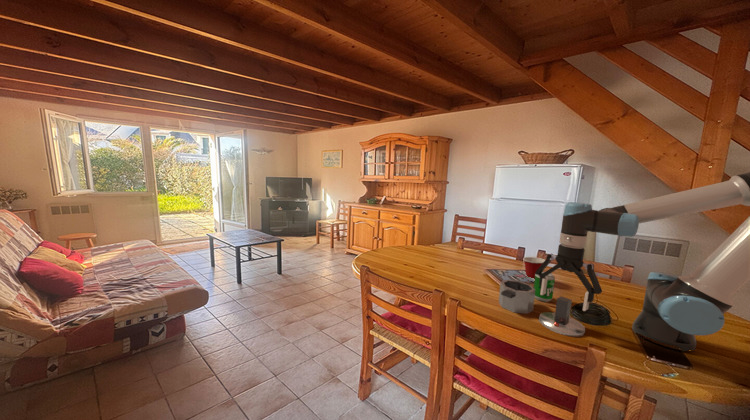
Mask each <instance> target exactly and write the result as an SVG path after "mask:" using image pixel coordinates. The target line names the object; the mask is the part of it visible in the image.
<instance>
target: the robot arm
mask: <svg viewBox="0 0 750 420" xmlns="http://www.w3.org/2000/svg"><path fill="white" fill-rule="evenodd" d="M737 205H742V206H746V207H750V171H749V172H745V173H741V174H736V175H733V176H731V178H730V179H729V180H725V181H722V182H718V183H717V182H716V183H713V184H709V185H704V186H700V187H695V188H691V189H688V190H687V189H686V190H682V191H678V192H675V193H668V194H665V195H661V196H657V197H652V198H648V199H644V200H638V201H635V202H631V203H626V204H623V205H617V206H612V207H605V208H602V209H600V210H597V209H596V210H595V209H593V206H592V204H590V203H585V202H576V201H575V202H570V201H569V202H566V204H565V206H564V211H563V215H562V220H561V221H562V223H561V230H560V235H559V245H558V250H557V255H555V254H554V253H548V254H547V255H546V258H545V261H544V262H543V264H542V265H541V266H540V267H539V268H538V270H537V271H536V272H535V274H536V275H538V276H540V281H539V285H541V293H540V295H544V294H546V287H547V280H548V278H546V276H547V275H549V274H550V273H551V274H553V273H554V272H555V271H557V270H558V269H561V270H562V271H567V272H569V273H574V274H575V275H576V276H577V278H578V279H579V281H580V282H581V283H582V285H583V287H584V288H585V289H586V292H585V293H584V298H583V299H584V300H583V305H582V311H583V312H586V311H588V310H589V306H590V305H589V304H591V303H593V302H594V298H595V295H600V294H601V293H603V290H602V287H601V285H600V282H599V279H598V278H597V275H596V273H595V263H592V262H591V263H586V262H585V263H584V256H585V247H586V244H587V238H588V233H589V232H590V233H599V234H604V235H605V234H607V235H611V236H612V235H614V236H619V237H628V238H629V237H630V238H631V237H634V236H636V234H637V233H638V229H639V226H640V224H644V223H649V222H654V221H659V220H660V221H661V220H664V219H670V218H675V217H680V216H681V217H682V216H685V215H691V214H695V213H701V212H706V211H712V210H716V209H722V208H727V207H728V208H729V207H733V206H737ZM554 260H555V261H556V264H555V265H554V266H552V267H551V268H549V269H547V270H545V269H546V268H547V267H548V265H549V264H551V262H552V261H554ZM583 267H584V269H585V270H586V271H587V276H588V277H589V279H588V278H587V276H586V275H585V273H584V271H583V270H582V268H583ZM544 270H545V272H544V273H542V271H544ZM589 280H590V281H589ZM646 281H647V282H646V288H645V292H644V293H645V294H644V299H643V306H642V309H641V312H640V313H639V314H638V315H637V317H636V318H635V320H634V321H633V322H632V331H633V332H634V334H636V333H638V334H641V335H643V336H645V337H648V338H651V339H653V340H655V341H658V342H661V343H665V344H669V345H675V346H677V347H678V348H680V349H681V350H683V351H682V352H685V351H689V350H694V349H695V348H696V347H697V340H696V336H709V335H713V334H715V333H718V332H719V331H721V330H722V328H724V326H725V316H724V314H725V313H727V312H728V311H729V310H730V309H732V307H733V306H735V303H734V301H733V299H732V296H733V295H735V293H736V292H738V291H739V290H740V289H741V288H742V287H743V286H744V285H746V283H748V282H749V281H750V215H749V216H748V217H747V218H746V219H745V220H744V221H743V222H742V223H741V224H740V225H739V226H738V227H737V228H736V229H734V231H733V232H732V233H731V234H730V235H729V236H728V237H726V239H725V240H724V241H723V242H722V243H721V244H720V245H719V246H718V247H717V248H716V249H715V250H714V251H712V253H711V254H710V255H709V256H708V257H706V259H705V260H704V261H702V263H701V264H699V266H698V267H696V269H695V270H694V271H693V272H692V273H691V274H690V275H689V274H688V275H680V274H674V273H669V272H664V271H663V272H661V271H651V272H649V274H648V277H647V278H646ZM695 350H696V349H695ZM695 350H694V351H695Z"/></svg>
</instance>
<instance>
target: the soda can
mask: <svg viewBox="0 0 750 420" xmlns="http://www.w3.org/2000/svg"><path fill="white" fill-rule="evenodd" d="M544 272H546V270H545V271H544V270H543V271H542V273H544ZM546 278H548V280H547V287H546V294H544V295H540V293H541V285H539V281H540V276H538V275H536V274H535V281H534V283H533V288H534V289H535V298H534V299H536V300H538V301H540V302H544V303H548V302H550V301H552V300H553V295H554V288H555V282H556V281H555V280H556V277H555V276H554V274H553V273H550V274H549V275H547V276H546Z"/></svg>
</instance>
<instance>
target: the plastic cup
mask: <svg viewBox="0 0 750 420" xmlns="http://www.w3.org/2000/svg"><path fill="white" fill-rule="evenodd" d="M522 258H523V259H522V260H523V263H524V270H525V276H526V275H527V276H528V277H531V278H534V279H535V272H536V271H537V270H538V268H539V267H540V266H541V265H542V264H543V262H544V261H545V260H546V258H545V259H544V258H541V257H536V256H534V257H532V256H526V257H522Z"/></svg>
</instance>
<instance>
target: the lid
mask: <svg viewBox="0 0 750 420" xmlns="http://www.w3.org/2000/svg"><path fill="white" fill-rule="evenodd" d="M572 302H573V299H571V298H567V297H564V296H561V295H560V296H559V297H557V298H556V303H555V312H551V311H550V312H549V311H547V312H541V313H540V314H539V317H538V322H539V323H540V324H541V325H542V326H543V327H545V328H546V329H547V330H549V331H552V332H554V333H557V334H559V335H562V336H566V337H576V338H577V337H583V336H584V335H585V333H586V327H585V326H584V325H583V324H582V323H581V322H580V321H578V320H577V319H575V318H572V317H571V309H572Z"/></svg>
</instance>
